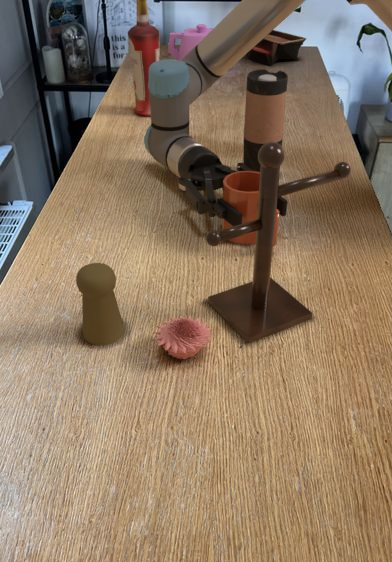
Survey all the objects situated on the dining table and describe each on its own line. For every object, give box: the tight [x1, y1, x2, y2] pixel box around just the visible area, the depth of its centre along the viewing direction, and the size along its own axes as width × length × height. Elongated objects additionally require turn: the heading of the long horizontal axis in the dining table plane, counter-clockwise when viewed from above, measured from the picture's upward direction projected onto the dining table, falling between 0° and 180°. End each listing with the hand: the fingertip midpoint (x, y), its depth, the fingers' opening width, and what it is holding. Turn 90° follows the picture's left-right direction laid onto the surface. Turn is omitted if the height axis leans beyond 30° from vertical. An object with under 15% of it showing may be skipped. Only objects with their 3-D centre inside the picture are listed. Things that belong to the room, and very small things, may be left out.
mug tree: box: [205, 142, 352, 344], centre depth 79 cm, size 22×11×26 cm, turn 120°
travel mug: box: [242, 68, 289, 172], centre depth 114 cm, size 8×8×20 cm
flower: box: [152, 314, 214, 360], centre depth 78 cm, size 8×8×6 cm
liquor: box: [127, 0, 160, 117], centre depth 139 cm, size 7×7×28 cm
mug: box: [221, 171, 280, 248], centre depth 99 cm, size 13×8×10 cm, turn 30°
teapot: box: [167, 23, 215, 61], centre depth 170 cm, size 20×12×13 cm, turn 86°
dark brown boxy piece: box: [246, 29, 307, 66], centre depth 180 cm, size 14×18×10 cm
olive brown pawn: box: [75, 262, 125, 346], centre depth 80 cm, size 6×6×11 cm
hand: (262, 215), depth 97 cm, fingers closed on mug, 8 cm apart
